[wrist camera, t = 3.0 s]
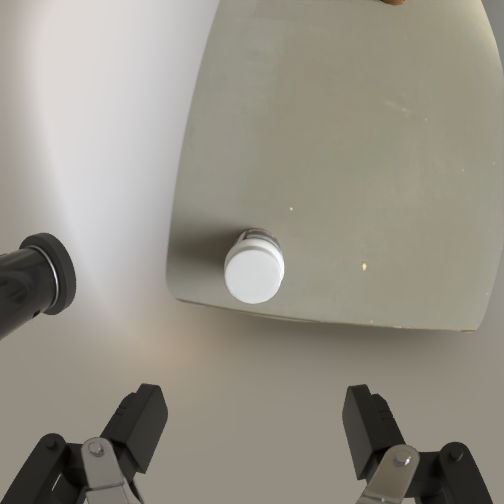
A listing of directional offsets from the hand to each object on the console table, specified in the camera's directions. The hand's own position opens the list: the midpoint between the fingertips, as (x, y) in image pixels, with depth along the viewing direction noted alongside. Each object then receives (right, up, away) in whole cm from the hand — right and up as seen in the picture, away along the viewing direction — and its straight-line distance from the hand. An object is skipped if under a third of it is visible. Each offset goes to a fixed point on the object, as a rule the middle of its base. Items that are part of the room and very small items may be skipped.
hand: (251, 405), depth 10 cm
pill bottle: (0, +6, +17) cm, 18 cm away
